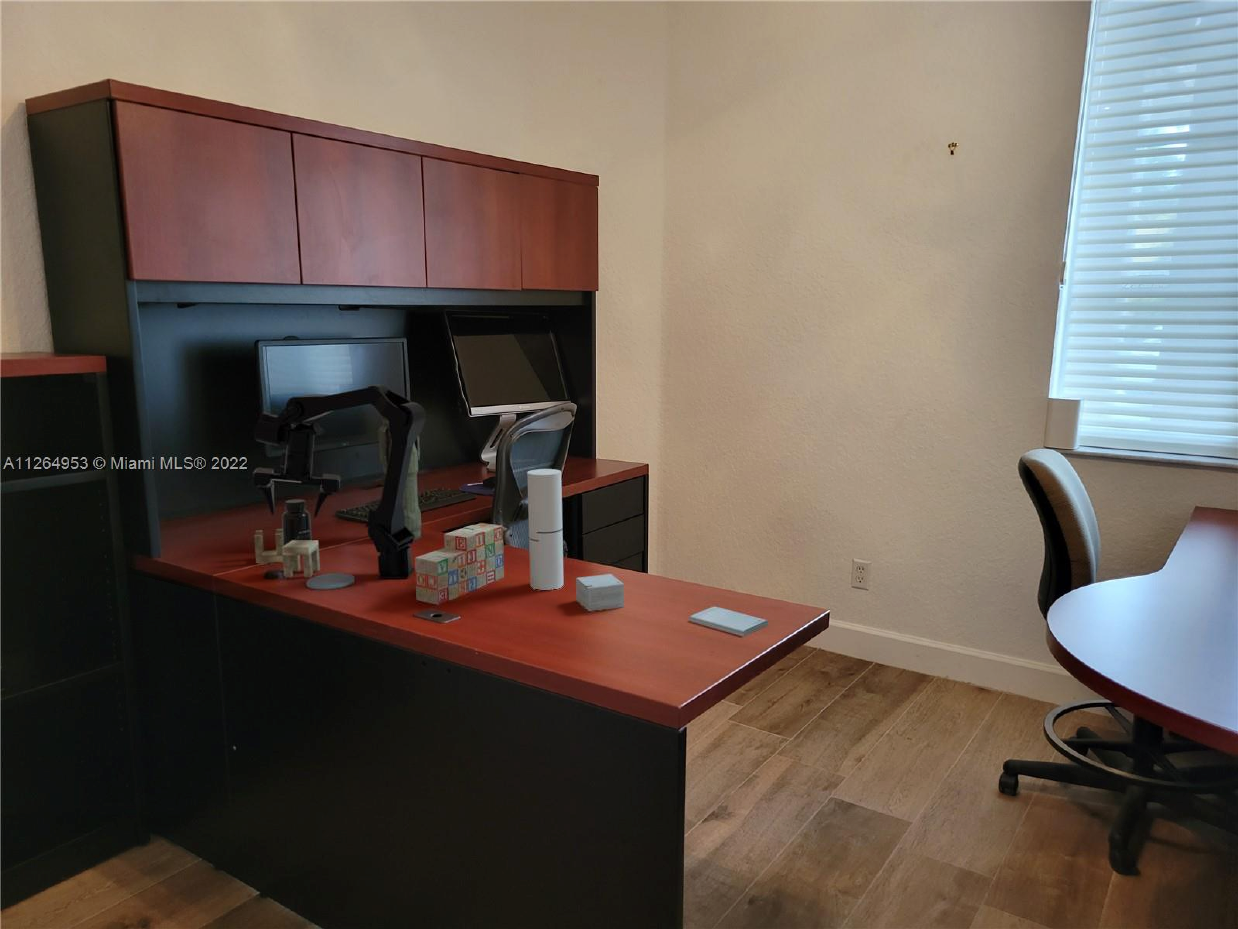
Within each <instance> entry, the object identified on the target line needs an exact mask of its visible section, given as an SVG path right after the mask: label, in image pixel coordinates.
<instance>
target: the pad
mask: <svg viewBox="0 0 1238 929" xmlns="http://www.w3.org/2000/svg"><path fill="white" fill-rule="evenodd" d="M354 582H355V576H353V575H352V574H349V573H339V572H338V573H325V574H320V575H317V576H314V577H313V576H312V577H310V578H309V579H307V581H306V586H307V588H309V589H311V590H312V589H313V590H319V591H321V590H323V591H325V590H326V591H328V590H335V589H341V588H345V587H348V586H350V585H353V584H354Z"/></svg>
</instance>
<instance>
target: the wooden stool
mask: <svg viewBox="0 0 1238 929" xmlns="http://www.w3.org/2000/svg"><path fill="white" fill-rule="evenodd" d="M282 555H283V562H282V566H283V568H282V569H283V577H284V576H285V577H284V578H291V577H293V575H294V574H293V572H300V571H301V570H300V569H301V556H302V562H303V563H302V564H303V575H304V576H303V577H304V578H313V576H312V575H314V572H319V571H321V563H320V548H319V540H318V539H317V540H292V541H291V542H289V543H288V544H286V545H285V546H283V547H282ZM299 570H300V571H299Z"/></svg>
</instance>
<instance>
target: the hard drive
mask: <svg viewBox="0 0 1238 929" xmlns="http://www.w3.org/2000/svg"><path fill="white" fill-rule="evenodd" d="M689 622H691V623H695V624H698V625H701V626H704V627H705V626H706V627H708V628H711V629H712V628H713V629H716V630H718V631H723V632H726V633H729V634H733V635H736V636H740V637H746V636H748V635H750V634H752V633H754V632H756V631H759V630H761V629H762V628H765V627H767V626H769V620H767V619H763V618H761V617H760V618H758V617H756V616H753V615H748V614H744V613H740V612H737V611H734V610H730V609H726V608H723V607H719V606H711V607H709V608H707V609H704V610H700V611H699V612H697V613H695V614H692V615H690V617H689Z"/></svg>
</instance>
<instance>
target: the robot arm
mask: <svg viewBox="0 0 1238 929" xmlns="http://www.w3.org/2000/svg"><path fill="white" fill-rule="evenodd" d="M364 405H365V406H366V405H372V406H373V407H374V408H375V409H376V411H377V412H378V413H379V414H380V416H382V418H383V417H384V418H386V419H387V420H388V421H389V428H388V430H389V434H390V437H391V449H390V454H389V459H388V465H387V470H386V475H385V474H384V475H385V476H384V481H383V487H382V493H381V497H380V502H379V504H378V505H377V506H375V507H372V508H370V509H369V511H368V512H367V513H368V515H367V519H368V520H367V522H366V524H365V528H367V536H368V537H369V539H370V540H371V542H372V543H373V545H374V547H375V550H376V553H379V555H378V556H377V566H378V579H408V578H409V577H410V576H411V575H412V573H413V572H414V571H415V567H413V565H412V546H411V545H413V544H414V541H415V540H414V538H415V535H414V534H413V533H412V532H411V531H410V530H409V529H408V528H407V527H406V526H405V525H404V523H405V514H404V511H403V507H402V500H403V495H404V490H405V484H406V479H407V474H408V469H409V464H410V459H411V453H412V448H413V444H414V442H415V441H416V439H417V437H418V436H419V437H420V434H421V433H422V431H423V428H424V425H425V421H426V420H427V412H426V410H425V409H424V406H422V404H420V403H419V402H415V401H414V402H413V401H411V400H410V399H408V397H405V396H402V395H401V394H399V393H397V392H395V391H393V390H392V389H390V388H388V387H387V386H386V385H384V384H374V385H370V386H367V387H364V388H361V389H354V390H350V391H349V390H348V391H342V392H340V393H339V392H338V393H334V394H304V395H297V396H293V397H290V398H289V399H288V400H287V402H286V404H285V408H284V409H283V410H282V411H281V412H280V414H278V415H277V414H273V413H271V412H262V413H260V417H259V419H258V420H256V423H255V425H254V427H253V438H254V440H255V441H257V442H260V443H265V444H269V445H273V446H278V447H282V446H284V445H286V449H285V451H286V452H282V453H281V456H280V464H279V465H280V467H281V468H284V473H275V472H274V468H266V467H257V468H255V470H254V471H253V472H252V475H251V476H252V477H251V485H253V486H257V489H258V490H261V491H262V493H263V495H264V497H265V498H266V501H267V504H268V507H269V510H270V513H271V515H272V516H274V515H275V514H274V513H275V509H276V507H275V483H283V484H284V483H285V484H294V485H295V484H296V485H305V486H307V485H308V486H319V487H320V488H319V493H318V496H317V501H316V504H315V509H314V512H313V513H314V515H313V518H314V519H316V518H317V516H318V514H319V511H320V509H321V508H322V505H323V504H324V502H325V501H326V500H327V498H328V496H333V495H334V493H339V492H340V487H341V478H342V477H341V476H340V475H339V474H333V473H332V474H331V473H323V475H322V477H317V476H312V475H313V466H314V463H313V457H314V447H315V446H314V445H315V436H317V435H321V434H324V433H325V430H324V428H322V427H321V426H320V424H319V423H318V422H314V423H312V422H311V424H308V423H304V422H309V421H312V420H313V421H314V420H316V419H318V418H321V417H323V416H325V415H328V414H330V413H332V412H335V411H340V410H345V409H351V408H355V407H361V406H364ZM293 423H298V424H296V425H295V424H293Z"/></svg>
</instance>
